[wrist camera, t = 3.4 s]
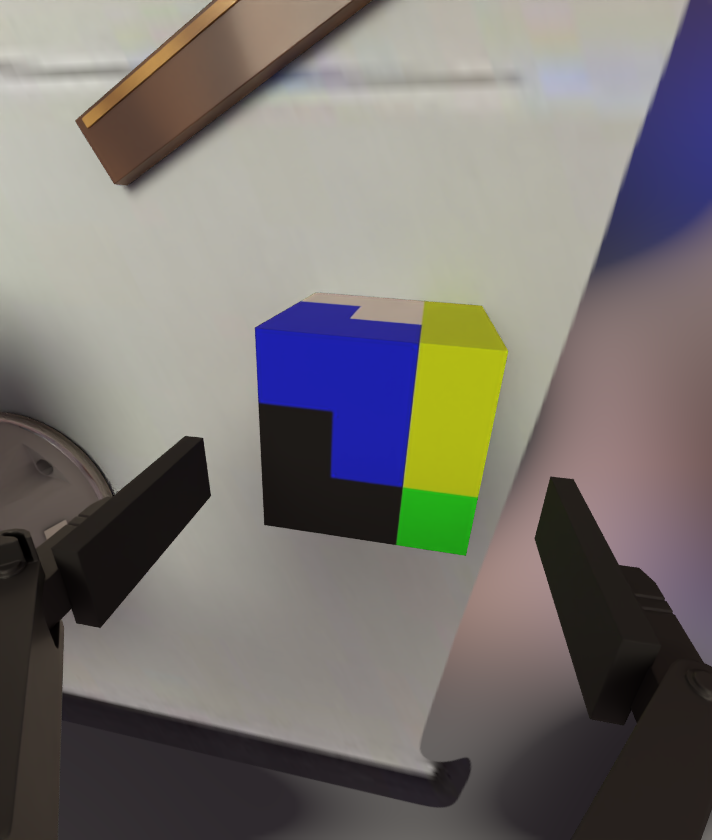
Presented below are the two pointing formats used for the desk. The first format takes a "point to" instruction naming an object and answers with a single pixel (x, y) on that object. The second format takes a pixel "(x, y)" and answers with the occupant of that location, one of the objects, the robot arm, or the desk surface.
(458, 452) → the puzzle toy
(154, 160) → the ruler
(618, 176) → the desk surface
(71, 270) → the desk surface
